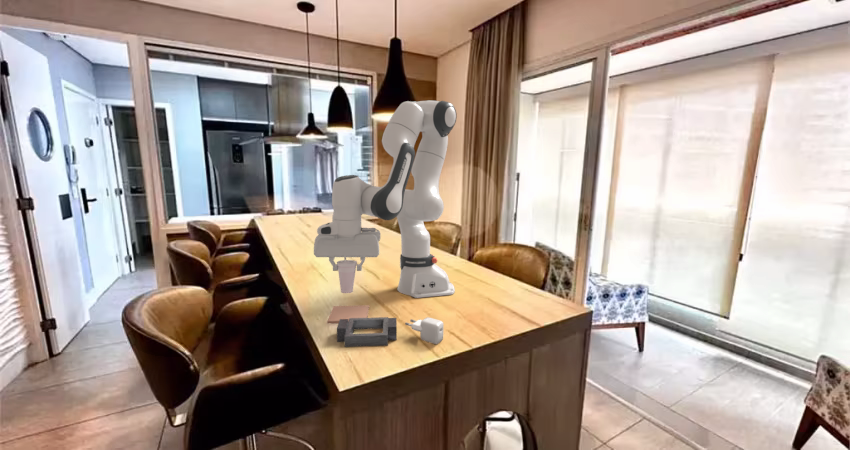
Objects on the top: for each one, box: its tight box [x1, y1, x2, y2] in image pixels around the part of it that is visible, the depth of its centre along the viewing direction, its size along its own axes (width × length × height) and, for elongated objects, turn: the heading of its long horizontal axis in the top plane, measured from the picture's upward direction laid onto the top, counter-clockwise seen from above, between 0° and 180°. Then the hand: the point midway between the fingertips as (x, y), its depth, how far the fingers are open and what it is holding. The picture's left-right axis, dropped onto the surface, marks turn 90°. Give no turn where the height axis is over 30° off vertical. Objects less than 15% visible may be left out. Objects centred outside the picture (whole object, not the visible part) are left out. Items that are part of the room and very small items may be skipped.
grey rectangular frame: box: [336, 316, 398, 348], centre depth 103 cm, size 16×12×4 cm
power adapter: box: [404, 316, 444, 345], centre depth 102 cm, size 11×5×6 cm, turn 57°
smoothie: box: [336, 257, 358, 294], centre depth 114 cm, size 6×6×14 cm
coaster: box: [326, 304, 370, 325], centre depth 117 cm, size 12×12×1 cm
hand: (347, 270), depth 114 cm, fingers closed on smoothie, 6 cm apart
